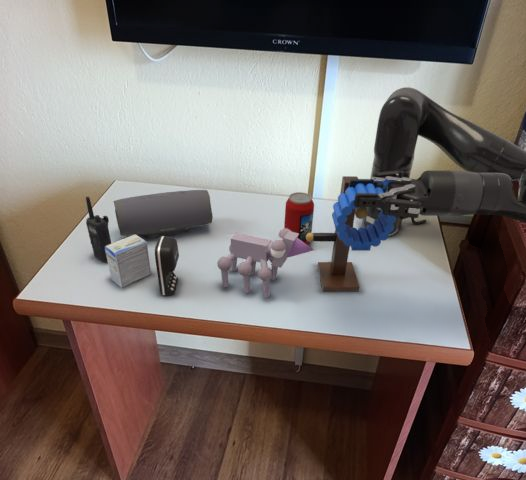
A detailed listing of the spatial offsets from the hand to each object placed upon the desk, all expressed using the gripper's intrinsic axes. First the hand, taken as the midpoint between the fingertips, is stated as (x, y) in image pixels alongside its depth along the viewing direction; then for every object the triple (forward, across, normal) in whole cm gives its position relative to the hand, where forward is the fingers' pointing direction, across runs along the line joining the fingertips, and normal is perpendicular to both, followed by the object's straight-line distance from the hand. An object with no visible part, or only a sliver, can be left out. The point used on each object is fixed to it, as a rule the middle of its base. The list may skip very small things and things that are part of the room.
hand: (352, 192), depth 87 cm
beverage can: (+5, +28, -27) cm, 39 cm away
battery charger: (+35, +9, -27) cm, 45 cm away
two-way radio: (+51, +22, -27) cm, 62 cm away
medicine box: (+44, +13, -27) cm, 53 cm away
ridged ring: (-3, 0, -10) cm, 10 cm away
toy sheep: (+14, +10, -27) cm, 32 cm away
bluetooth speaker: (+38, +34, -27) cm, 58 cm away
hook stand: (-1, +9, -26) cm, 28 cm away
